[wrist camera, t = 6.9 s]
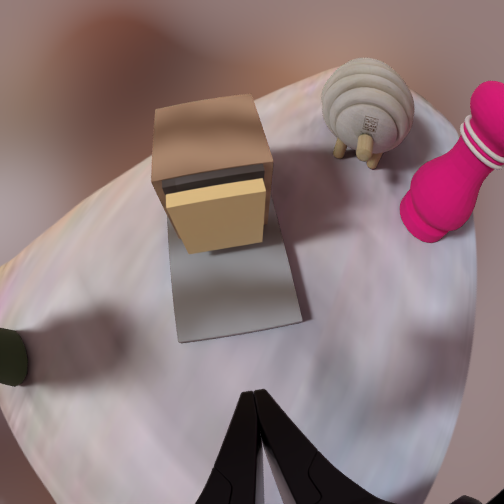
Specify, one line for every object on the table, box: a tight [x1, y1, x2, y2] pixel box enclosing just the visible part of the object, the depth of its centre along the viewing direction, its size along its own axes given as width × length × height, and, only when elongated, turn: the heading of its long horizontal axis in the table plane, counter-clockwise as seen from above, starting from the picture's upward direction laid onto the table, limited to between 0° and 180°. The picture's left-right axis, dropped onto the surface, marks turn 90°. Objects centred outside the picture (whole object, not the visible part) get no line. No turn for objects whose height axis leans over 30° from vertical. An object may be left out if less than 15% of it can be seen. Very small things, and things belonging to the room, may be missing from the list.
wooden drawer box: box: [151, 94, 302, 343], centre depth 22 cm, size 18×10×9 cm, turn 11°
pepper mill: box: [400, 81, 504, 243], centre depth 18 cm, size 7×7×20 cm
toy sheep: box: [321, 58, 414, 169], centre depth 26 cm, size 11×17×11 cm, turn 167°
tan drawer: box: [166, 178, 266, 254], centre depth 22 cm, size 11×6×7 cm, turn 11°
